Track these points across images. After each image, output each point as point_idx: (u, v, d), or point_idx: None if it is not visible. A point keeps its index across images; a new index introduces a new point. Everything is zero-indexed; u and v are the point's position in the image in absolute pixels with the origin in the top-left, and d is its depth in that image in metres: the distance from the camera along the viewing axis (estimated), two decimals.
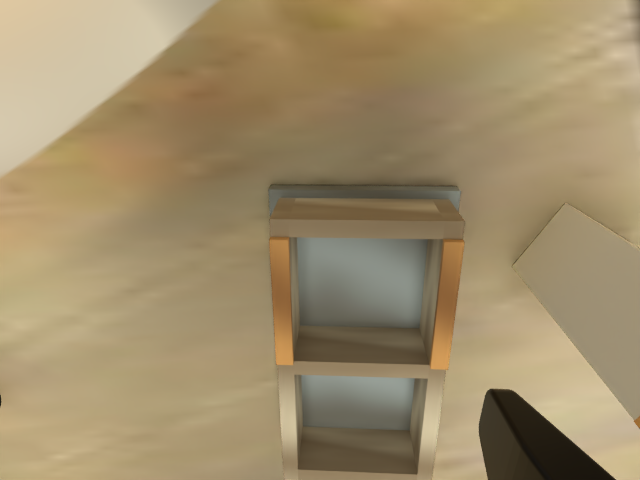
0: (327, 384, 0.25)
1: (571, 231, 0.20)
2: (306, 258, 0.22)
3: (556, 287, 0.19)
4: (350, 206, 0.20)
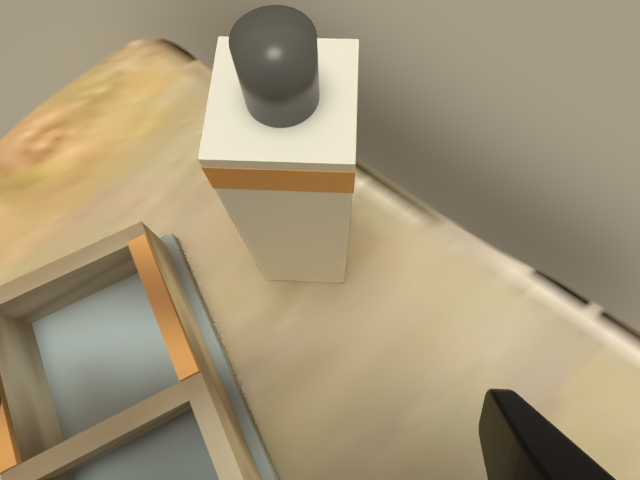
0: None
1: None
2: (53, 363, 0.21)
3: None
4: None
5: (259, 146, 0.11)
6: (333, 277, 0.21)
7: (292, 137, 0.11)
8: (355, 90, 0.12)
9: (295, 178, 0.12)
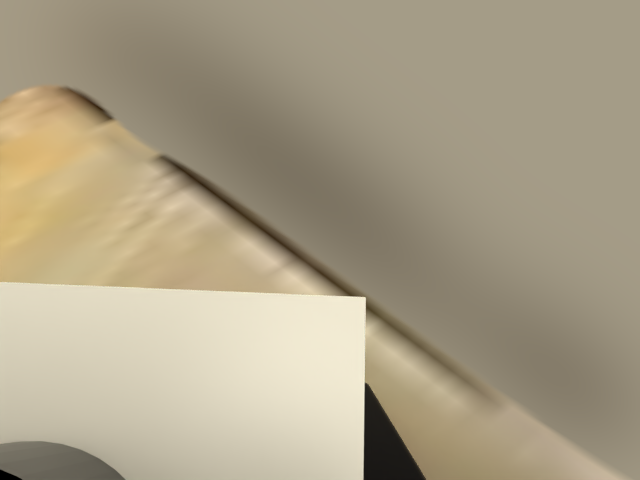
0: None
1: None
2: None
3: None
4: None
5: None
6: None
7: None
8: None
9: None
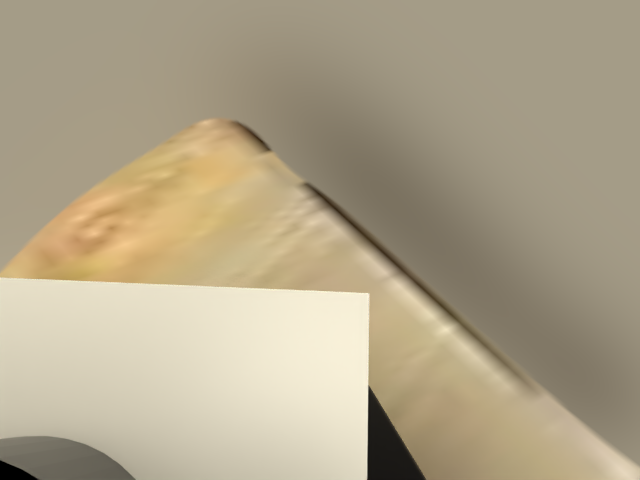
0: None
1: None
2: None
3: None
4: None
5: None
6: None
7: None
8: None
9: None
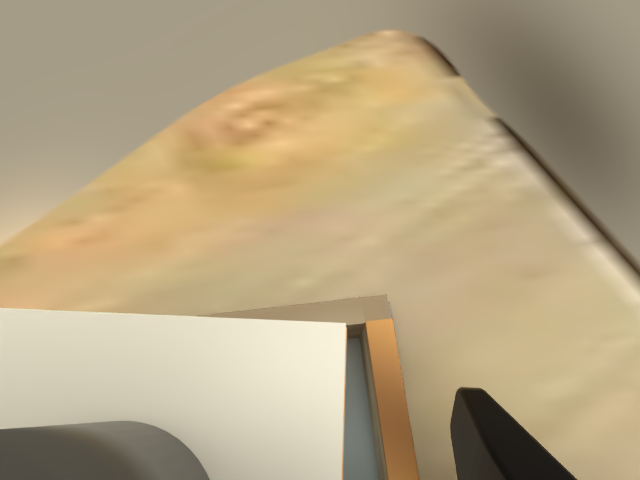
0: None
1: None
2: None
3: None
4: None
5: None
6: None
7: None
8: None
9: None
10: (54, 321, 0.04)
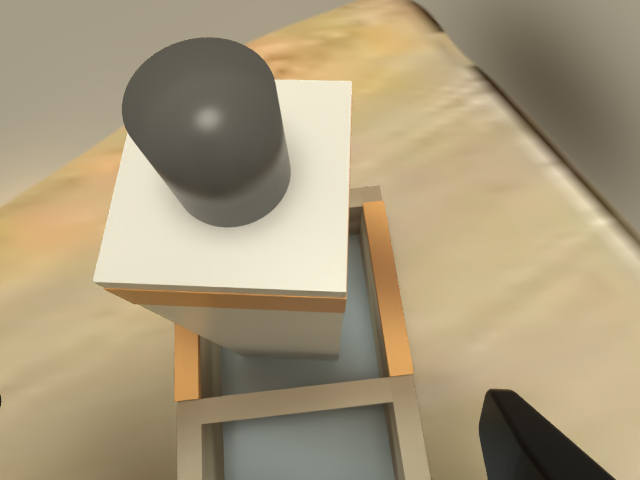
0: None
1: None
2: None
3: None
4: None
5: (192, 259, 0.07)
6: (324, 357, 0.17)
7: (245, 244, 0.07)
8: (346, 163, 0.08)
9: (254, 300, 0.08)
10: None
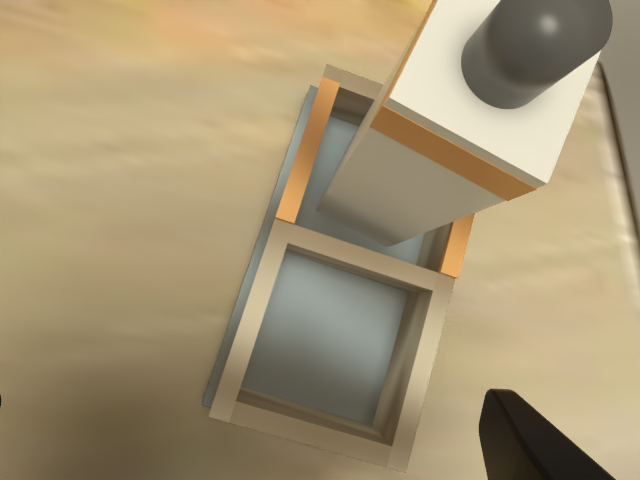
0: (293, 324, 0.20)
1: (350, 142, 0.20)
2: (322, 160, 0.22)
3: (338, 170, 0.18)
4: None
5: (458, 114, 0.10)
6: (384, 239, 0.20)
7: (496, 121, 0.10)
8: (578, 99, 0.10)
9: (468, 162, 0.10)
10: None
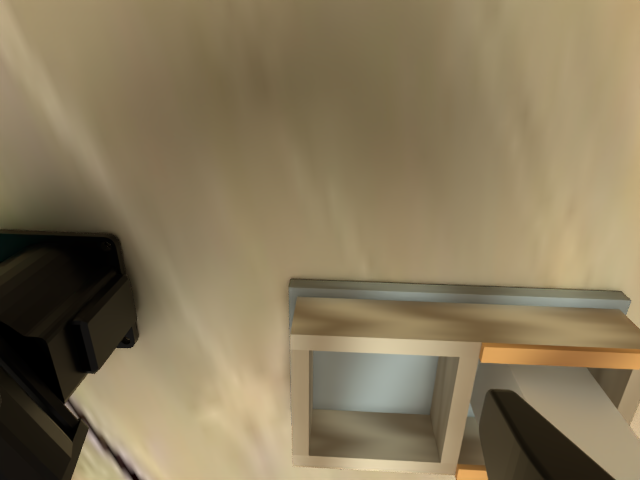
0: None
1: (571, 369, 0.20)
2: None
3: (541, 391, 0.18)
4: None
5: None
6: (475, 401, 0.22)
7: None
8: None
9: None
10: None
